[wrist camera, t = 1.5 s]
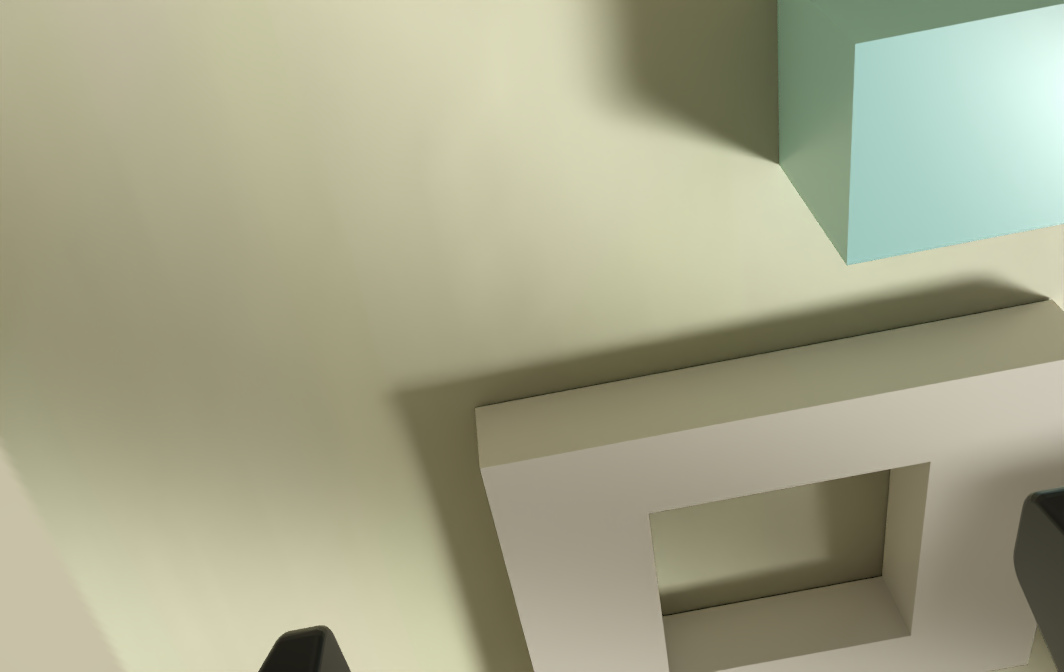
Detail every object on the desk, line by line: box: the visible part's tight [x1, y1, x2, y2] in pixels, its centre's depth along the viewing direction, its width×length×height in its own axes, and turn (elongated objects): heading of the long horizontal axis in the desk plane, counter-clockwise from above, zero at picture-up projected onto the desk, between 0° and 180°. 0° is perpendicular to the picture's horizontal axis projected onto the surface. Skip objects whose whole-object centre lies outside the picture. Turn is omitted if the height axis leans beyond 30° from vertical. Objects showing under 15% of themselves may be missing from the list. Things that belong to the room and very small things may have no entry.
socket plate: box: [475, 300, 1064, 672], centre depth 23 cm, size 12×10×2 cm
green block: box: [777, 0, 1064, 265], centre depth 15 cm, size 6×4×4 cm, turn 99°
